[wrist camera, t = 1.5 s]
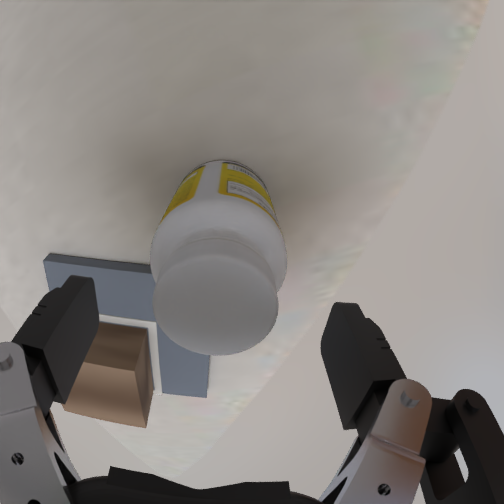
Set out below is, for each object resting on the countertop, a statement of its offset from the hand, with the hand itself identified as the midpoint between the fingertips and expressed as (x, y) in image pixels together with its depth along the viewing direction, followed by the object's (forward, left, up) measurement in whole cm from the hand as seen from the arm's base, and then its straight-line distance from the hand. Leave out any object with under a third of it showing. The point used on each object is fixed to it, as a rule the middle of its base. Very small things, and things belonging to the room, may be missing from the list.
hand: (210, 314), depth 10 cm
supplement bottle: (0, 0, -10) cm, 10 cm away
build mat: (+10, -6, -9) cm, 15 cm away
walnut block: (+12, -8, -8) cm, 17 cm away
